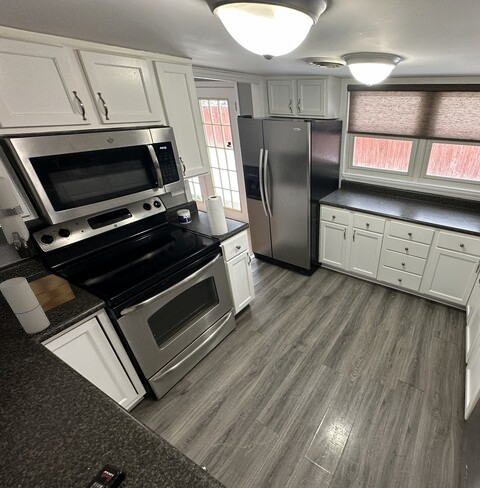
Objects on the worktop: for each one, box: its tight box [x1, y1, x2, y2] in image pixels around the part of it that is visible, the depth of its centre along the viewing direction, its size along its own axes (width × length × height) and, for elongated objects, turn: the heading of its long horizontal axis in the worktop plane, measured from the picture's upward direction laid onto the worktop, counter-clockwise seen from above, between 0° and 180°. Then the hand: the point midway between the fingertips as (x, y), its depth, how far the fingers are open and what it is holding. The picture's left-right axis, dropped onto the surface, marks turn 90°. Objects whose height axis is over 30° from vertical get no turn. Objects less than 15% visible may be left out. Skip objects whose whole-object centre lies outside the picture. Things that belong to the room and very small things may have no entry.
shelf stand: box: [28, 273, 76, 313], centre depth 127 cm, size 14×14×10 cm
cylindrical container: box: [0, 276, 51, 334], centre depth 106 cm, size 7×7×25 cm
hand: (28, 253), depth 104 cm, fingers open, 9 cm apart
